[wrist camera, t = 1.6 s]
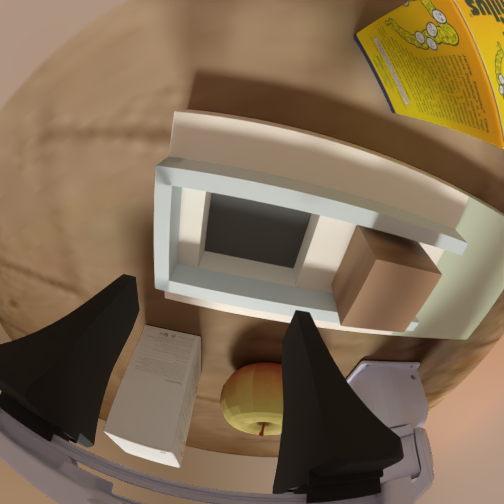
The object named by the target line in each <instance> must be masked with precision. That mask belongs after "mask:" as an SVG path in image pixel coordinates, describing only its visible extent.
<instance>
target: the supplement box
mask: <svg viewBox="0 0 504 504" xmlns="http://www.w3.org/2000/svg"><path fill="white" fill-rule="evenodd" d="M354 40H355V41H356V43H357V44H358V46H359V48H360V49H361V51H362V52H363V54H364V56H365V58H366V60H367V62H368V63H369V65H370V67H371V69H372V71H373V73H374V75H375V77H376V79H377V81H378V83H379V85H380V87H381V89H382V91H383V93H384V95H385V98H386V100H387V102H388V103H389V106H390V108H391V111H392V112H393V113H397V114H401V115H405V116H410V117H413V118H417V119H421V120H424V121H428V122H432V123H435V124H438V125H442V126H445V127H448V128H451V129H454V130H457V131H460V132H462V133H465V134H468V135H470V136H473V137H476V138H478V139H481V140H483V141H485V142H488V143H490V144H493V145H495V146H497V147H499V148H501V149H503V150H504V0H410V1H408V2H407V3H405V4H403V5H401V6H400V7H398V8H396V9H394V10H393V11H391V12H389V13H387V14H386V15H384V16H382V17H381V18H379V19H378V20H376V21H374V22H373V23H371V24H370V25H368V26H367V27H365V28H364V29H362V30H361V31H359V32H358V33H357V34H355V35H354Z"/></svg>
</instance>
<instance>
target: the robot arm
mask: <svg viewBox="0 0 504 504" xmlns="http://www.w3.org/2000/svg"><path fill="white" fill-rule="evenodd" d="M138 312H139V302H138V294H137V285H136V277H134V276H130V275H126V274H123V275H122V276H120V277H119V278H117V279H116V280H115V281H113V282H112V283H111V284H110V285H108V286H107V287H106V288H104V289H103V290H102V291H100V292H99V293H98V294H96V295H95V296H94V297H92V298H91V299H90V300H88V301H87V302H86V303H84V304H83V305H81V306H80V307H79V308H77V309H76V310H74V311H73V312H71V313H70V314H68V315H67V316H65V317H63V318H62V319H60V320H58V321H56V322H55V323H53V324H51V325H49V326H47V327H45V328H43V329H41V330H39V331H37V332H35V333H32V334H30V335H28V336H25V337H22V338H20V339H17V340H14V341H11V342H7V343H4V344H0V390H1V391H2V392H1V394H0V458H1V459H2V460H3V461H4V462H5V463H7V464H8V465H9V466H10V467H11V468H12V469H13V470H14V471H16V472H17V473H18V474H19V475H20V476H22V477H23V478H24V479H25V480H26V481H28V482H29V483H30V484H32V485H33V486H34V487H35V488H37V489H38V490H40V491H41V492H42V493H44V494H45V495H47V496H48V497H49V498H51V499H52V500H54V501H55V502H57V503H58V504H145V503H142V502H139V501H135V500H132V499H129V498H126V497H124V496H120V495H118V494H115V493H112V487H113V483H111V482H109V481H106V480H104V479H102V478H100V477H98V476H96V475H93V474H91V473H89V472H87V471H85V470H83V469H81V468H79V467H78V465H77V463H76V461H77V462H80V463H82V464H84V465H86V466H88V467H90V468H92V469H94V470H97V471H99V472H101V473H104V474H106V475H108V476H111V477H114V478H116V479H119V480H121V481H124V482H127V483H130V484H133V485H136V486H139V487H142V488H145V489H149V490H152V491H155V492H159V493H163V494H167V495H170V496H175V497H179V498H184V499H188V500H194V501H199V502H205V503H211V504H414V503H415V502H416V501H417V500H418V499H419V498H420V497H421V496H422V495H423V494H424V493H425V492H426V491H427V490H428V489H429V488H430V486H431V485H432V481H433V479H434V473H433V459H432V452H431V447H430V443H429V439H428V436H427V432H426V430H425V429H423V428H422V426H423V425H424V423H425V421H426V419H427V415H428V403H427V399H426V396H425V393H424V389H423V386H422V383H421V380H420V377H419V374H418V371H417V368H418V367H419V366H420V363H419V362H384V361H362V362H360V363H359V365H358V366H357V367H356V368H355V369H354V371H353V372H352V373H351V374H350V375H349V377H348V378H347V379H345V378H344V376H343V375H342V373H341V372H340V370H339V368H338V367H337V365H336V363H335V362H334V360H333V358H332V356H331V355H330V353H329V351H328V349H327V347H326V345H325V343H324V341H323V339H322V337H321V335H320V333H319V331H318V329H317V327H316V325H315V323H314V320H313V318H312V316H311V314H310V312H306V311H299V310H295V313H294V315H293V317H292V320H291V322H290V324H289V327H288V329H287V331H286V334H285V336H284V338H283V345H282V359H281V363H282V386H283V420H282V432H281V441H280V449H279V456H278V464H277V469H276V475H275V480H274V485H273V494H258V493H244V492H234V491H225V490H218V489H211V488H205V487H199V486H194V485H189V484H185V483H180V482H176V481H171V480H168V479H164V478H160V477H156V476H153V475H150V474H146V473H143V472H140V471H136V470H134V469H130V468H128V467H125V466H122V465H120V464H117V463H114V462H112V461H109V460H107V459H104V458H102V457H100V456H97V455H95V454H93V453H91V452H88V451H86V450H84V449H82V448H80V447H78V446H76V445H74V444H72V443H70V442H69V440H70V441H72V442H74V443H79V444H81V445H83V446H85V447H91V446H93V445H94V441H95V434H96V427H97V422H98V418H99V413H100V409H101V405H102V401H103V397H104V394H105V390H106V387H107V384H108V381H109V378H110V375H111V372H112V370H113V367H114V365H115V363H116V361H117V359H118V357H119V355H120V353H121V351H122V349H123V347H124V345H125V343H126V341H127V339H128V337H129V335H130V333H131V331H132V329H133V326H134V323H135V321H136V318H137V315H138ZM417 477H418V478H417ZM414 478H417V480H416V481H415V482H413V483H412V482H411V479H414Z"/></svg>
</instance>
